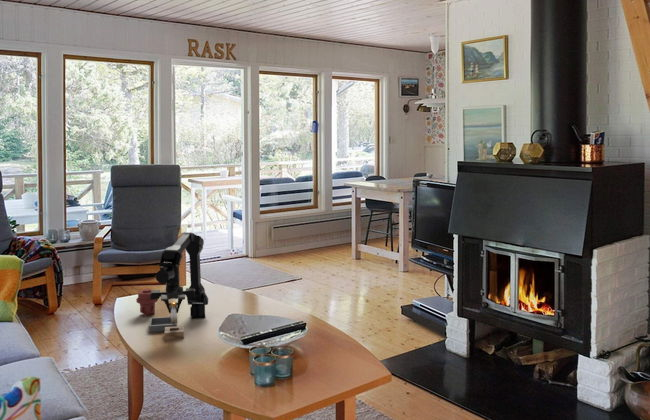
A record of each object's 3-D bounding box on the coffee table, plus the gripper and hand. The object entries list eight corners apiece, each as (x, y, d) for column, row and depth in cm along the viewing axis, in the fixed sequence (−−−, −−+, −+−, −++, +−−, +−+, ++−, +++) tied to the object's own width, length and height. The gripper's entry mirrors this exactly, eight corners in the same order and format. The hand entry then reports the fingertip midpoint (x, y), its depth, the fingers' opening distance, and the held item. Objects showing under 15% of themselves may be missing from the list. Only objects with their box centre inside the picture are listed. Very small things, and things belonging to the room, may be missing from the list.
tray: (177, 322, 277) (176, 316, 277) (176, 330, 266) (176, 324, 266) (150, 324, 275) (150, 318, 274) (149, 332, 263) (148, 326, 263)
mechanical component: (162, 312, 294) (152, 318, 284) (143, 310, 295) (133, 316, 286) (161, 287, 292) (151, 293, 282) (142, 286, 294) (132, 291, 284)
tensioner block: (183, 332, 264) (183, 325, 263) (183, 338, 256) (183, 331, 256) (165, 333, 262) (165, 327, 261) (164, 339, 254) (164, 333, 254)
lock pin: (178, 321, 260) (177, 301, 259) (178, 324, 257) (177, 303, 256) (170, 322, 259) (169, 302, 258) (169, 324, 256) (169, 304, 255)
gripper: (149, 283, 246) (150, 320, 248) (195, 281, 250) (196, 317, 252) (150, 277, 256) (151, 312, 258) (194, 275, 261) (195, 309, 263)
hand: (173, 313), depth 257 cm, fingers closed on lock pin, 3 cm apart
